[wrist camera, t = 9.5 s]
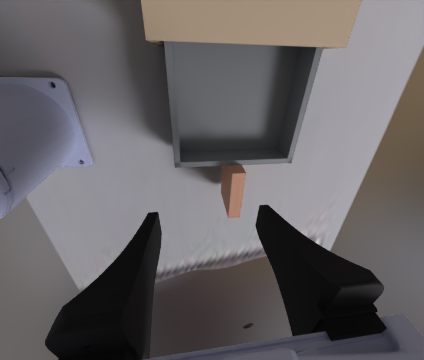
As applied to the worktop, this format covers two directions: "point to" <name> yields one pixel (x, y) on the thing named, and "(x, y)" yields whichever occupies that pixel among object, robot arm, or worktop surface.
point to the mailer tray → (237, 106)
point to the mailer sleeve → (251, 22)
